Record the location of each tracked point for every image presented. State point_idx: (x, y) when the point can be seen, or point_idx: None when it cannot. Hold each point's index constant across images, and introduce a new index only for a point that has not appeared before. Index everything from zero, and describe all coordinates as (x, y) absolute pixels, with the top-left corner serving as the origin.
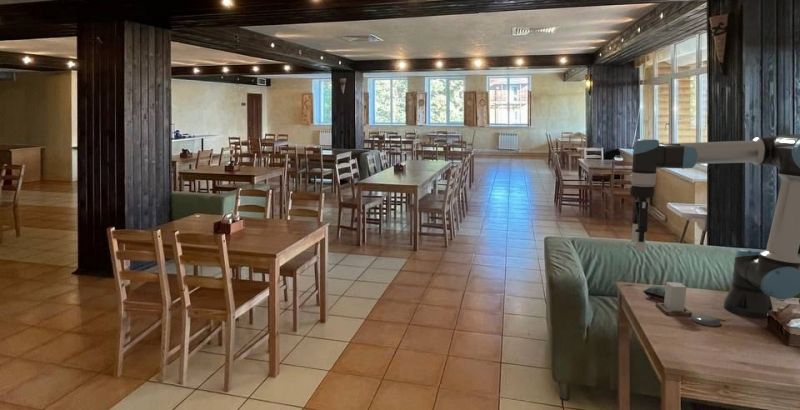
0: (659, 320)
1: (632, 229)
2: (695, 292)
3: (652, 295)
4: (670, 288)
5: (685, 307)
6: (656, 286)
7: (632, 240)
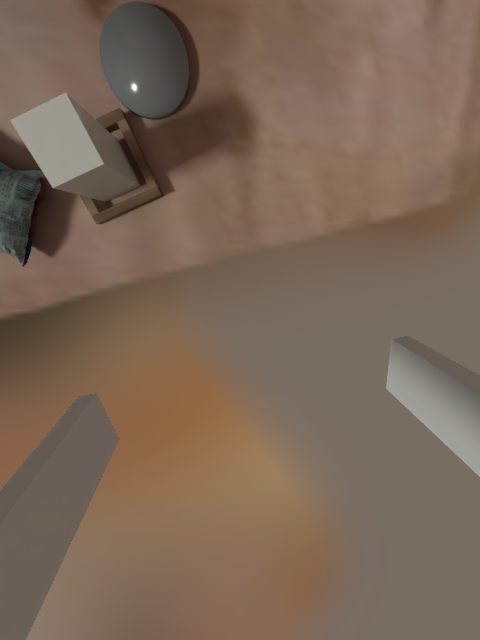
0: (218, 212)
1: (55, 574)
2: None
3: (32, 236)
4: (99, 171)
5: None
6: None
7: (111, 443)
